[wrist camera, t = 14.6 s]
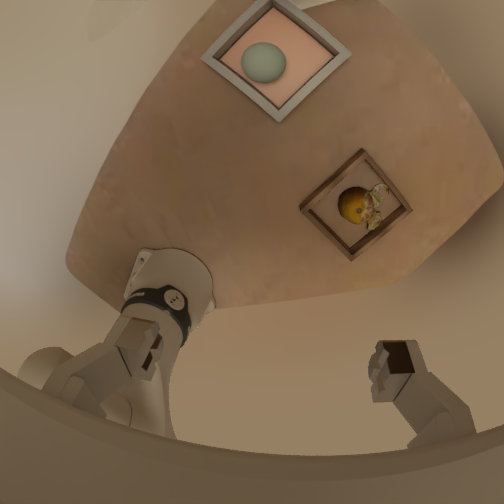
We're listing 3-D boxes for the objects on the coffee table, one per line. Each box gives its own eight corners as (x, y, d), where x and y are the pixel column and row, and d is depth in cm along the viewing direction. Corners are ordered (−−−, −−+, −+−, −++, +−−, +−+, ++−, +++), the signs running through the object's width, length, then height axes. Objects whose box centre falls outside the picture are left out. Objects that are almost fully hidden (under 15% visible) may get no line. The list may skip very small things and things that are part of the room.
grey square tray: (280, 120, 40) (279, 122, 36) (207, 61, 36) (199, 58, 33) (346, 57, 33) (352, 54, 30) (272, -3, 30) (270, -12, 26)
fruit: (379, 229, 47) (385, 239, 43) (333, 223, 47) (336, 233, 44) (390, 183, 42) (397, 190, 39) (341, 175, 43) (345, 182, 40)
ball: (296, 75, 35) (273, 92, 33) (260, 70, 38) (236, 87, 35) (291, 38, 30) (266, 51, 28) (254, 36, 33) (227, 49, 30)
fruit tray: (349, 254, 49) (351, 261, 47) (299, 205, 46) (300, 210, 44) (407, 204, 43) (413, 210, 41) (361, 148, 40) (365, 151, 38)
